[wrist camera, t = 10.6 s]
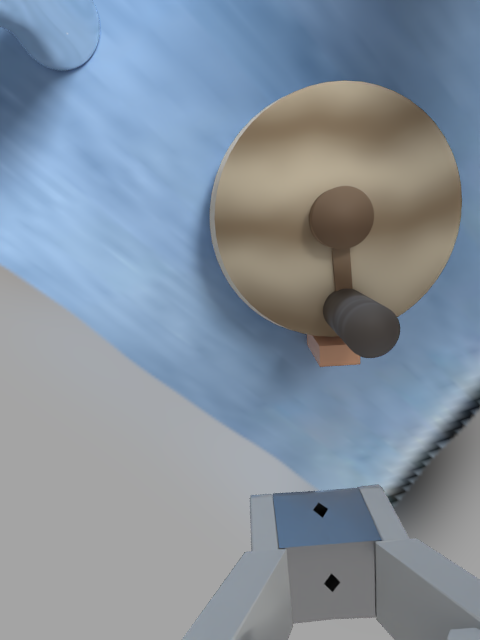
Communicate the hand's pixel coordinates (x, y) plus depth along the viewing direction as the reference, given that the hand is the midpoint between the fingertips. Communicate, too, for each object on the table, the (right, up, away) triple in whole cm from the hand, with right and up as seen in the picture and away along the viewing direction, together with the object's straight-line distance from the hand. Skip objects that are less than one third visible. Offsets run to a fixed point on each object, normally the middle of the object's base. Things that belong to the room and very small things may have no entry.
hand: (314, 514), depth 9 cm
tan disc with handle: (+5, +12, +20) cm, 23 cm away
